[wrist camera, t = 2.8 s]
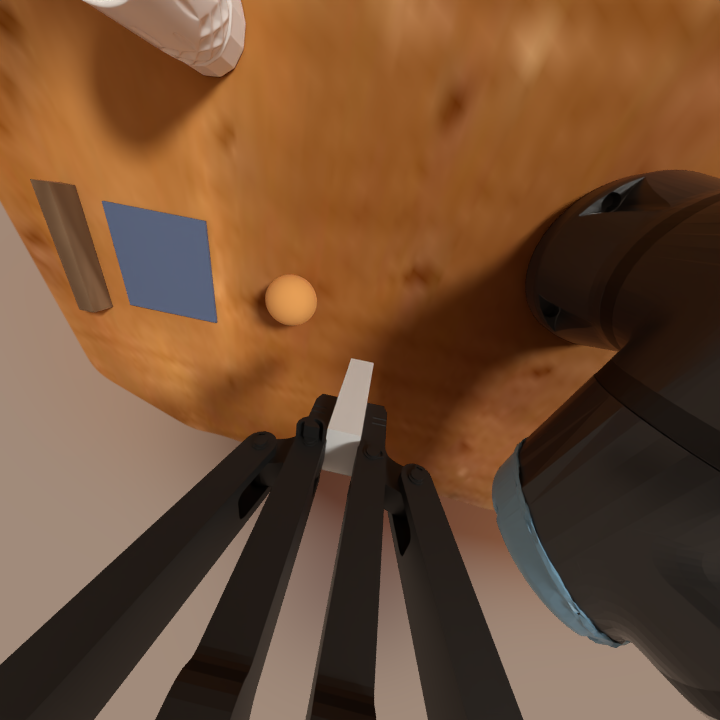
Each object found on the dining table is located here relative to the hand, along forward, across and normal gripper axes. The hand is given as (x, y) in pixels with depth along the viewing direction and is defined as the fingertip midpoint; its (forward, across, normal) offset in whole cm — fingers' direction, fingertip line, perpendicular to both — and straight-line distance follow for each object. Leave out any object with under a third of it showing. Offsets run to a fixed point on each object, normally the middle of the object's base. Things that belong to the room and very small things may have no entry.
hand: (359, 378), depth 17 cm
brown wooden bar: (+15, +36, 0) cm, 39 cm away
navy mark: (+15, +26, 0) cm, 30 cm away
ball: (+13, +9, 0) cm, 16 cm away
